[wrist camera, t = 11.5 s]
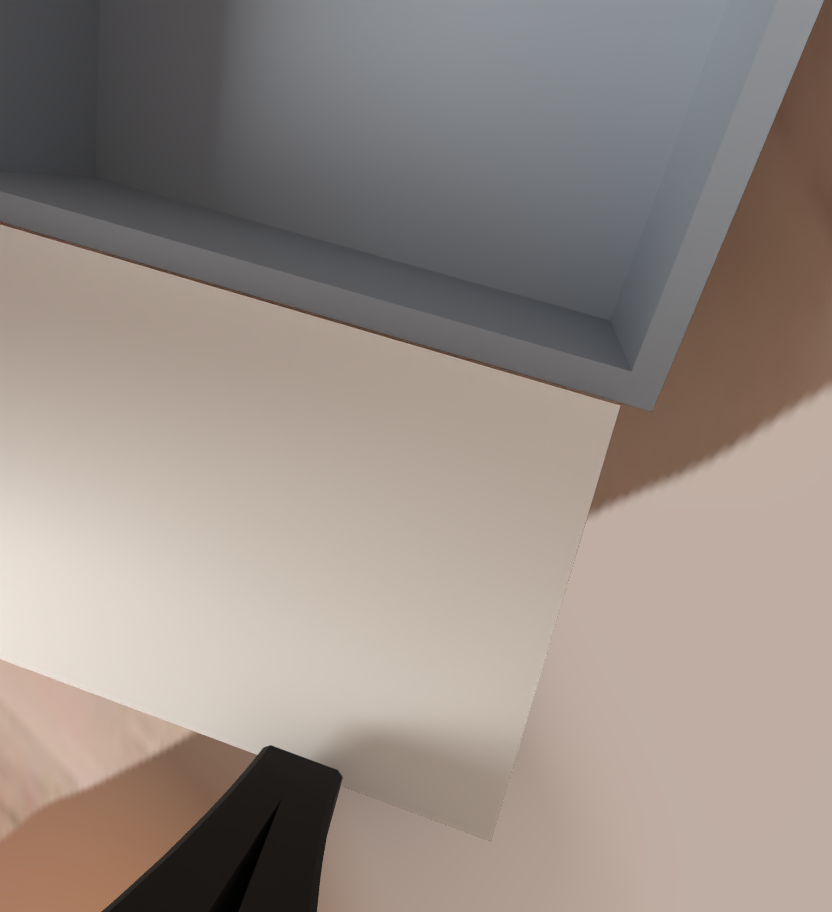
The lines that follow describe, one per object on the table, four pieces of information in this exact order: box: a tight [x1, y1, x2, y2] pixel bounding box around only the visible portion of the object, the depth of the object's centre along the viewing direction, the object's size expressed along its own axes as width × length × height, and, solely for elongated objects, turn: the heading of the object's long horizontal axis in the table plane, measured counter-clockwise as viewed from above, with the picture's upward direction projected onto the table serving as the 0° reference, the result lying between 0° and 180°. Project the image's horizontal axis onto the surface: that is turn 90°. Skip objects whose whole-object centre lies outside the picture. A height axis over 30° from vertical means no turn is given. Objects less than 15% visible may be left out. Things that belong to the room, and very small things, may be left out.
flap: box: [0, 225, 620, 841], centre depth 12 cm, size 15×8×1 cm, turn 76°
